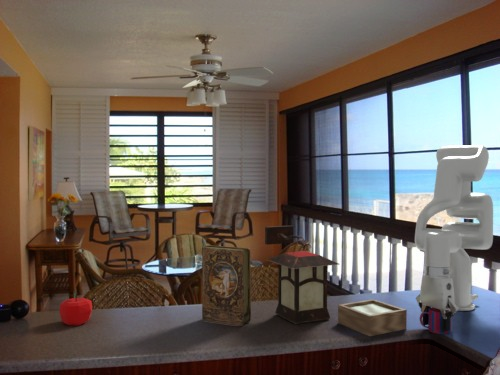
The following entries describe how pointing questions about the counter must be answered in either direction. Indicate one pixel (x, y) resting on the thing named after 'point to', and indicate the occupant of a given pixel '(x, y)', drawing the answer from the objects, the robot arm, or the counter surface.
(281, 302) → the lantern
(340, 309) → the tray
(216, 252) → the book
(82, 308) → the apple
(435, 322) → the mug
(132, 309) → the counter surface
